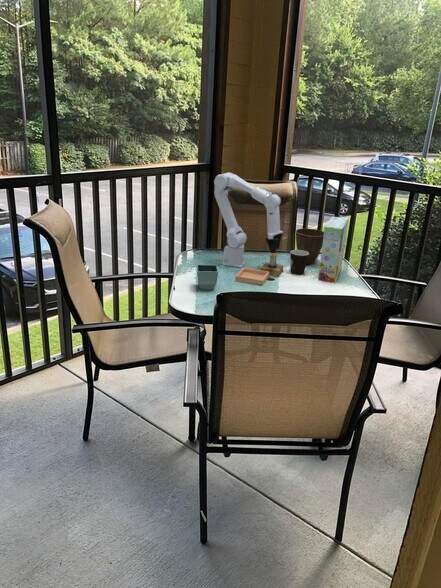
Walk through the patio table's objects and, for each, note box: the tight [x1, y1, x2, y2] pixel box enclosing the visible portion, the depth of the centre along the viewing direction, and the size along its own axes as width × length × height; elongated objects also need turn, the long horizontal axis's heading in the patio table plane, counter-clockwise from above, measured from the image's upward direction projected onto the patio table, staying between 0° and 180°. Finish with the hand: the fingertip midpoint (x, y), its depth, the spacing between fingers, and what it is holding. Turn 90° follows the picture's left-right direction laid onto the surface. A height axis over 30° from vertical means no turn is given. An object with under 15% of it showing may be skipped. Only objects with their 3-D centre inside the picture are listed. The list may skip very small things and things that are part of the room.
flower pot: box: [196, 264, 219, 291], centre depth 194 cm, size 9×9×9 cm
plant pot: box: [295, 228, 324, 266], centre depth 231 cm, size 15×15×16 cm
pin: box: [268, 252, 278, 268], centre depth 216 cm, size 3×3×9 cm
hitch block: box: [260, 262, 284, 278], centre depth 217 cm, size 9×9×3 cm
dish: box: [234, 267, 270, 286], centre depth 208 cm, size 13×13×2 cm
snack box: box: [317, 216, 349, 284], centre depth 214 cm, size 22×9×26 cm, turn 159°
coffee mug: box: [289, 249, 309, 276], centre depth 219 cm, size 12×9×10 cm
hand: (274, 250), depth 214 cm, fingers open, 7 cm apart
